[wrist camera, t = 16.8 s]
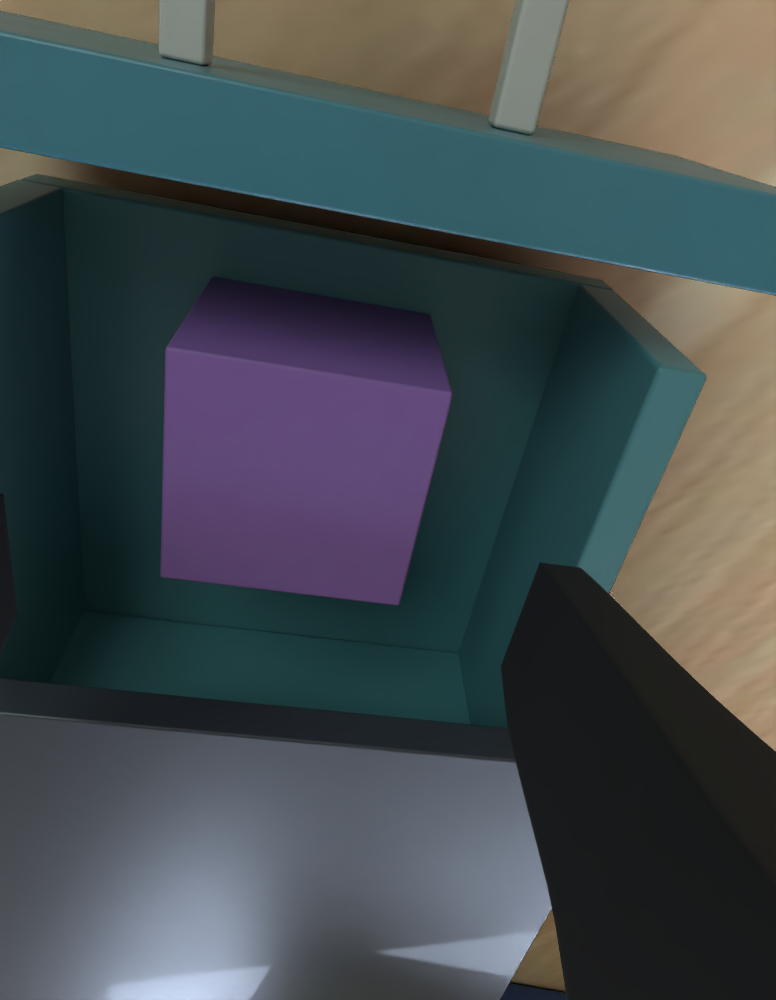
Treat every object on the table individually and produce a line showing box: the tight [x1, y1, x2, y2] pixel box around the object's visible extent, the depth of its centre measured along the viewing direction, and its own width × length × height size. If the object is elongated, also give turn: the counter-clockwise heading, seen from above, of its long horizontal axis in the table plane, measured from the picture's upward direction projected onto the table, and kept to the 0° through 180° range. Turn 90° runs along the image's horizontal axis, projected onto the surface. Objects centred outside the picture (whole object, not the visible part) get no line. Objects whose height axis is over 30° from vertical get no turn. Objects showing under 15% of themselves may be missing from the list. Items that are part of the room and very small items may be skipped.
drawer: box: [0, 0, 776, 728], centre depth 13 cm, size 18×13×6 cm
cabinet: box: [0, 678, 552, 1000], centre depth 20 cm, size 15×14×8 cm
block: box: [160, 277, 453, 605], centre depth 13 cm, size 4×4×4 cm
